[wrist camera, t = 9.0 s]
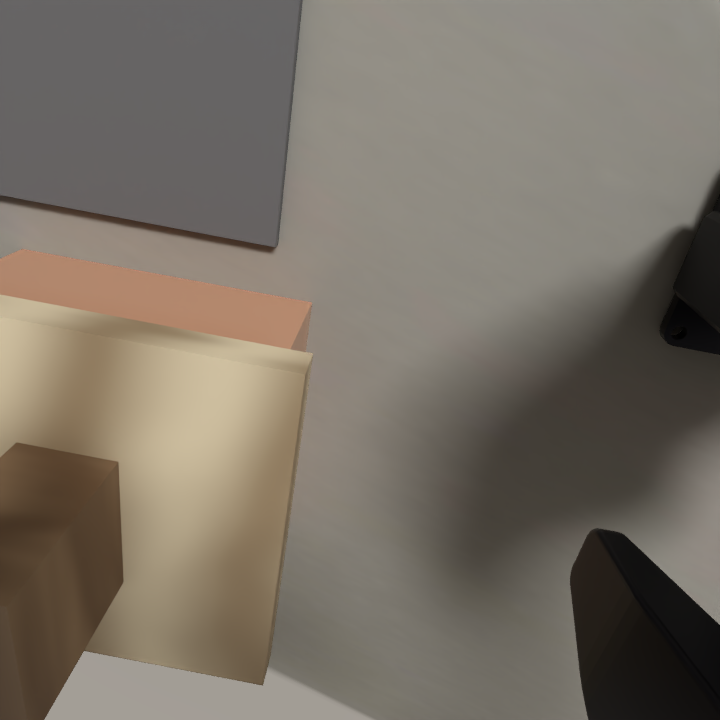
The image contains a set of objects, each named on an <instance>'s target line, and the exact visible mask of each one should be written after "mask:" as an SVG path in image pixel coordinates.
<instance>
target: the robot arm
mask: <svg viewBox="0 0 720 720" xmlns="http://www.w3.org/2000/svg"><path fill="white" fill-rule="evenodd" d="M673 289H674V291H675V295H674V297H673V299H672V302H671V304H670V306H669V308H668V310H667V313H666V315H665V317H664V319H663V321H662V324H661V326H660V330H659V331H660V335H661V336H662V338H663V339H664V340H665V341H666V342H667V343H668V344H670V345H672V346H677V347H682V348H687V349H692V350H698V351H703V352H708V353H713V354H719V355H720V195H719V198H718V200H717V202H716V204H715V206H714V209H713V211H712V212H711V213H710V214H708V215H707V216H705V217H704V219H703V221H702V223H701V225H700V227H699V230H698V232H697V234H696V236H695V239H694V241H693V243H692V245H691V248H690V250H689V252H688V254H687V256H686V259H685V261H684V263H683V265H682V268H681V270H680V272H679V274H678V277H677V279H676V281H675V283H674V286H673ZM678 326H682V330H681V332H680V333H678V334H676V335H671V333H672V331H673V329H674V328H676V327H678ZM570 586H571V595H572V604H573V614H574V623H575V632H576V641H577V651H578V660H579V669H580V677H581V684H582V690H583V696H584V701H585V706H586V711H587V715H588V720H720V625H719V624H718V623H717V622H716V621H715V620H714V619H713V618H712V617H711V616H710V615H708V614H707V613H706V612H705V611H704V610H703V609H702V608H701V607H700V606H699V605H698V604H697V603H696V602H695V601H694V600H693V599H692V598H691V597H689V596H688V595H687V594H686V593H685V592H684V591H683V590H682V589H681V588H680V587H679V586H678V585H677V584H676V583H675V582H674V581H673V580H672V579H670V578H669V577H668V576H667V575H666V574H665V573H664V572H663V571H662V570H661V569H660V568H659V567H658V566H657V565H656V564H655V563H654V562H653V561H651V560H650V559H649V558H648V557H647V556H646V555H645V554H644V553H643V552H642V551H641V550H640V549H639V548H638V547H637V546H636V545H635V544H634V543H632V542H631V541H630V540H629V539H628V538H627V537H626V536H625V535H624V534H622V533H619V532H615V531H610V530H604V529H599V528H596V529H593V530H591V531H590V532H589V534H588V535H587V537H586V539H585V542H584V544H583V546H582V548H581V550H580V552H579V554H578V556H577V558H576V560H575V562H574V565H573V567H572V570H571V576H570Z"/></svg>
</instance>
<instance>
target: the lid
mask: <svg viewBox="0 0 720 720" xmlns="http://www.w3.org/2000/svg"><path fill="white" fill-rule="evenodd" d="M312 358H313V354H312V353H307V352H301V351H296V350H291V349H286V348H280V347H275V346H270V345H265V344H259V343H254V342H249V341H243V340H238V339H233V338H228V337H222V336H217V335H212V334H206V333H201V332H196V331H191V330H185V329H180V328H175V327H169V326H164V325H159V324H154V323H148V322H143V321H138V320H132V319H127V318H122V317H117V316H111V315H106V314H101V313H95V312H90V311H85V310H80V309H74V308H69V307H64V306H58V305H53V304H48V303H43V302H37V301H32V300H27V299H22V298H16V297H11V296H6V295H0V720H44V719H45V717H46V716H47V714H48V712H49V710H50V709H51V707H52V705H53V703H54V702H55V700H56V698H57V696H58V695H59V693H60V691H61V690H62V688H63V686H64V684H65V683H66V681H67V679H68V677H69V676H70V674H71V672H72V671H73V669H74V667H75V665H76V664H77V662H78V660H79V658H80V657H81V655H82V653H83V652H84V651H88V652H93V653H98V654H103V655H108V656H113V657H119V658H124V659H129V660H134V661H139V662H144V663H150V664H155V665H161V666H165V667H170V668H175V669H181V670H186V671H191V672H196V673H201V674H207V675H212V676H217V677H222V678H227V679H232V680H237V681H243V682H248V683H253V684H258V685H263V683H264V679H265V675H266V671H267V667H268V663H269V659H270V655H271V648H272V641H273V634H274V627H275V620H276V613H277V606H278V599H279V592H280V585H281V578H282V570H283V563H284V556H285V549H286V542H287V535H288V528H289V521H290V514H291V507H292V500H293V493H294V485H295V478H296V471H297V464H298V457H299V450H300V443H301V436H302V429H303V422H304V415H305V408H306V400H307V393H308V386H309V379H310V372H311V365H312Z"/></svg>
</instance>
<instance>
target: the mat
mask: <svg viewBox="0 0 720 720" xmlns="http://www.w3.org/2000/svg"><path fill="white" fill-rule="evenodd" d="M301 10H302V0H0V195H3V196H8V197H13V198H18V199H24V200H29V201H34V202H40V203H45V204H50V205H55V206H61V207H66V208H71V209H76V210H82V211H87V212H92V213H97V214H103V215H108V216H113V217H118V218H124V219H129V220H134V221H140V222H145V223H150V224H155V225H161V226H166V227H171V228H176V229H182V230H187V231H192V232H197V233H203V234H208V235H213V236H218V237H224V238H229V239H234V240H240V241H245V242H250V243H255V244H261V245H266V246H271V247H276V246H277V245H278V240H279V230H280V220H281V210H282V200H283V190H284V180H285V170H286V160H287V150H288V140H289V130H290V120H291V110H292V100H293V90H294V80H295V70H296V60H297V50H298V40H299V30H300V20H301Z"/></svg>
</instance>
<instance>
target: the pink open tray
mask: <svg viewBox="0 0 720 720" xmlns="http://www.w3.org/2000/svg"><path fill="white" fill-rule="evenodd" d="M0 295H6V296H11V297H16V298H22V299H27V300H32V301H37V302H43V303H48V304H53V305H58V306H64V307H69V308H74V309H80V310H85V311H90V312H95V313H101V314H106V315H111V316H117V317H122V318H127V319H132V320H138V321H143V322H148V323H154V324H159V325H164V326H169V327H175V328H180V329H185V330H191V331H196V332H201V333H206V334H212V335H217V336H222V337H228V338H233V339H238V340H243V341H249V342H254V343H259V344H265V345H270V346H275V347H280V348H286V349H291V350H296V351H301V352H306V346H307V338H308V330H309V323H310V315H311V307H312V303H311V302H306V301H300V300H295V299H290V298H284V297H279V296H273V295H268V294H263V293H257V292H252V291H246V290H241V289H236V288H230V287H225V286H219V285H214V284H209V283H203V282H198V281H192V280H187V279H182V278H176V277H171V276H165V275H160V274H155V273H149V272H144V271H138V270H133V269H128V268H122V267H117V266H111V265H106V264H101V263H95V262H90V261H84V260H79V259H74V258H68V257H63V256H57V255H52V254H47V253H41V252H36V251H30V250H25V249H21V250H19V251H17V252H14V253H12V254H10V255H8V256H5V257H3V258H1V259H0Z"/></svg>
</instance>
